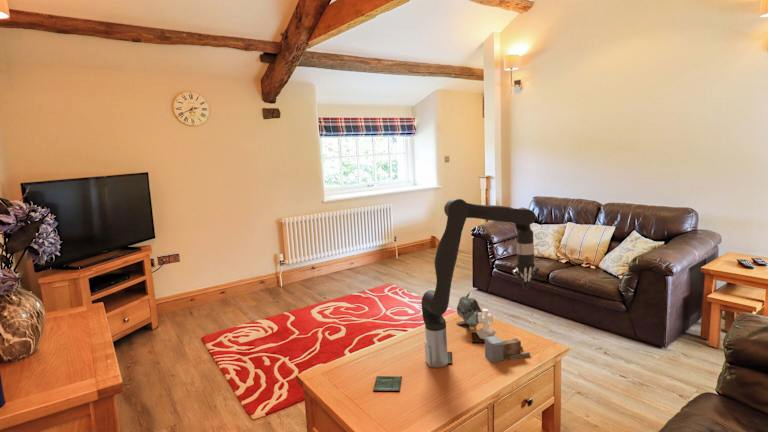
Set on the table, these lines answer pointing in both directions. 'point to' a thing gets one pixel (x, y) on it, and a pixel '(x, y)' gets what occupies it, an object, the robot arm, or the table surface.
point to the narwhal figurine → (468, 312)
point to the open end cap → (519, 355)
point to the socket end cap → (494, 349)
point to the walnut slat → (511, 347)
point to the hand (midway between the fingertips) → (526, 288)
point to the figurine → (485, 324)
